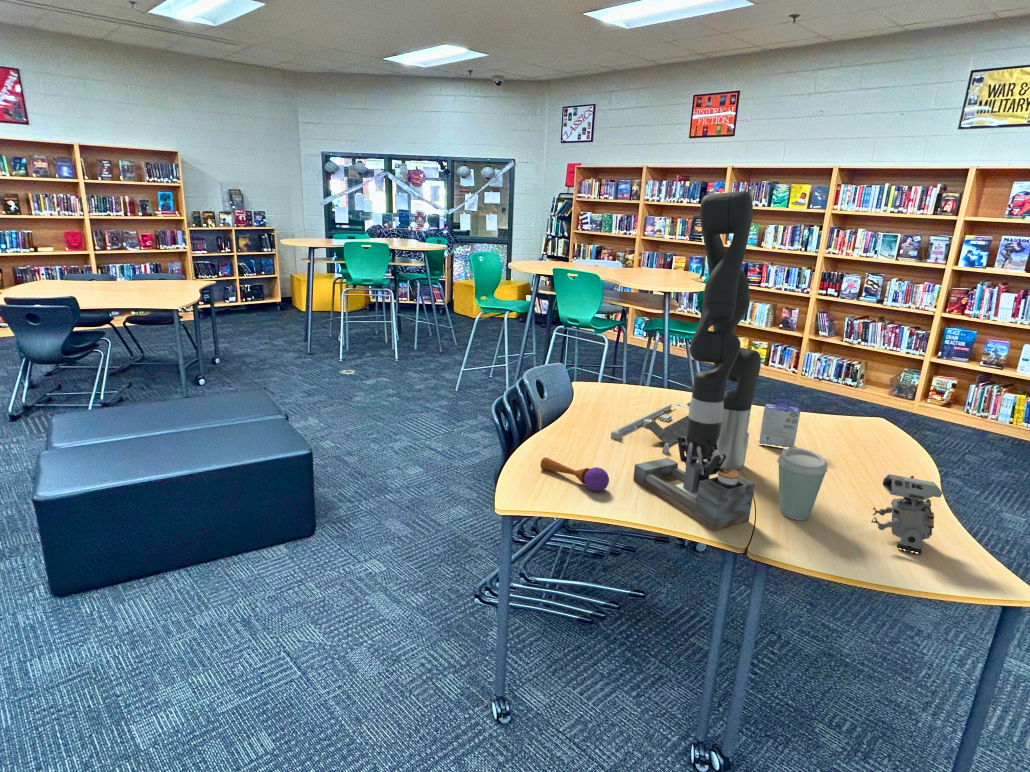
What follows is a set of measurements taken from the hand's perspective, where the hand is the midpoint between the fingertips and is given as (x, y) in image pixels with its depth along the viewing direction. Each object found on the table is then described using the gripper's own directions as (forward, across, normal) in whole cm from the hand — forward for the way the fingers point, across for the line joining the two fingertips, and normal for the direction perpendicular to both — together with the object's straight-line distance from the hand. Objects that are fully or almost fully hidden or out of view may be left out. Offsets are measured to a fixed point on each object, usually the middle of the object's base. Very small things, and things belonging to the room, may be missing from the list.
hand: (695, 484), depth 147 cm
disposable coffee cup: (+5, -14, -18) cm, 23 cm away
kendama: (+5, +22, +20) cm, 30 cm away
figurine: (+5, -32, -29) cm, 43 cm away
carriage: (+3, 0, 0) cm, 3 cm away
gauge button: (-4, -9, 0) cm, 10 cm away
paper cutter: (+6, +43, -31) cm, 53 cm away
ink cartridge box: (+5, +18, -51) cm, 54 cm away
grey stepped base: (+5, +2, 0) cm, 5 cm away
